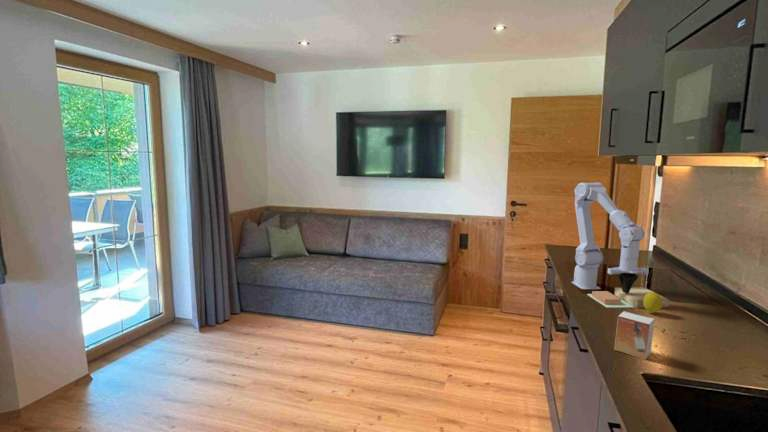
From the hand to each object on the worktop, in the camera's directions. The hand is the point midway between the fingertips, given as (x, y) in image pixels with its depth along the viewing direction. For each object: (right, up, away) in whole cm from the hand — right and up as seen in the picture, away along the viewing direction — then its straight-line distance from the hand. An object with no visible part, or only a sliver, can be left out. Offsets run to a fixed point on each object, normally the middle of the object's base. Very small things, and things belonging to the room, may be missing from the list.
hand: (625, 292), depth 156 cm
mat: (-6, -4, 0) cm, 7 cm away
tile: (-7, -1, 0) cm, 7 cm away
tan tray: (+6, -4, +1) cm, 7 cm away
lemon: (+3, -6, -11) cm, 13 cm away
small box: (-22, -10, -40) cm, 46 cm away
